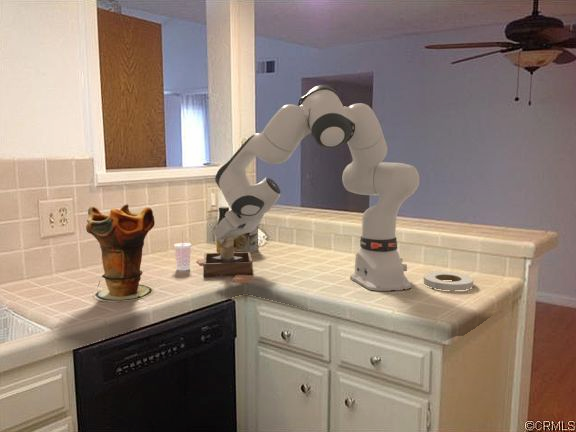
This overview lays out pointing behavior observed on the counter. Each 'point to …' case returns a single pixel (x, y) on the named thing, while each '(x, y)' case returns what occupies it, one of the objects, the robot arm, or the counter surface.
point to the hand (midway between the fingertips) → (225, 240)
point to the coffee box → (247, 242)
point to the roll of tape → (457, 281)
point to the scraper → (227, 252)
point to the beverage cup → (182, 255)
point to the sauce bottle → (221, 215)
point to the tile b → (243, 278)
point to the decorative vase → (121, 251)
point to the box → (227, 265)
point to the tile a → (200, 261)
